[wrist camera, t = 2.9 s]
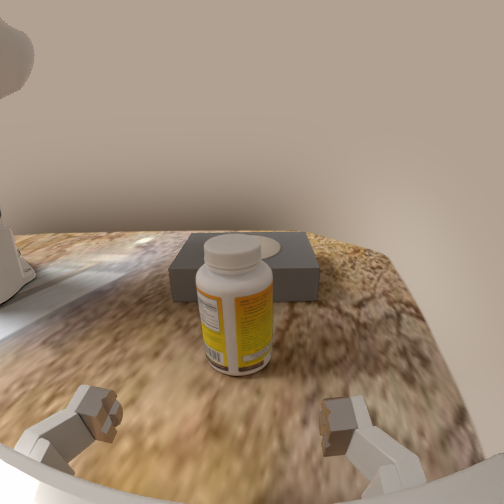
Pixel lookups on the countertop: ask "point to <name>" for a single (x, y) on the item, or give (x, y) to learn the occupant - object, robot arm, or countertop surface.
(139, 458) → the countertop surface
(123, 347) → the countertop surface
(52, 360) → the countertop surface
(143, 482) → the countertop surface
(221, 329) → the supplement bottle
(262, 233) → the block
